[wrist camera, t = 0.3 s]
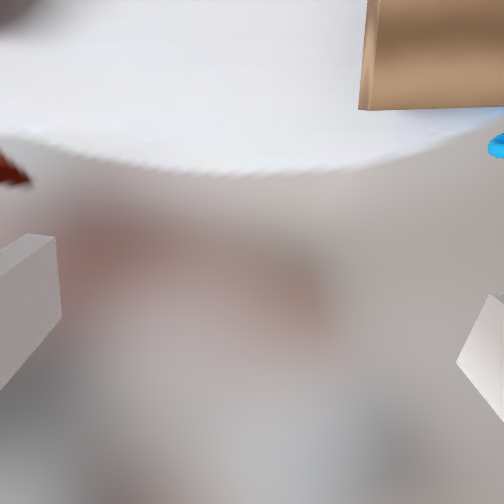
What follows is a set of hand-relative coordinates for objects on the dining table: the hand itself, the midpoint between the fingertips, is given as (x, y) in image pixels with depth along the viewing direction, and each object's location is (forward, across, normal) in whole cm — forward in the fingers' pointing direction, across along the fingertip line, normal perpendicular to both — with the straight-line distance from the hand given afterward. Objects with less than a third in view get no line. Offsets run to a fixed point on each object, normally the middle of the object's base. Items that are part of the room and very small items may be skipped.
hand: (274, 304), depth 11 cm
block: (+22, +12, +13) cm, 28 cm away
